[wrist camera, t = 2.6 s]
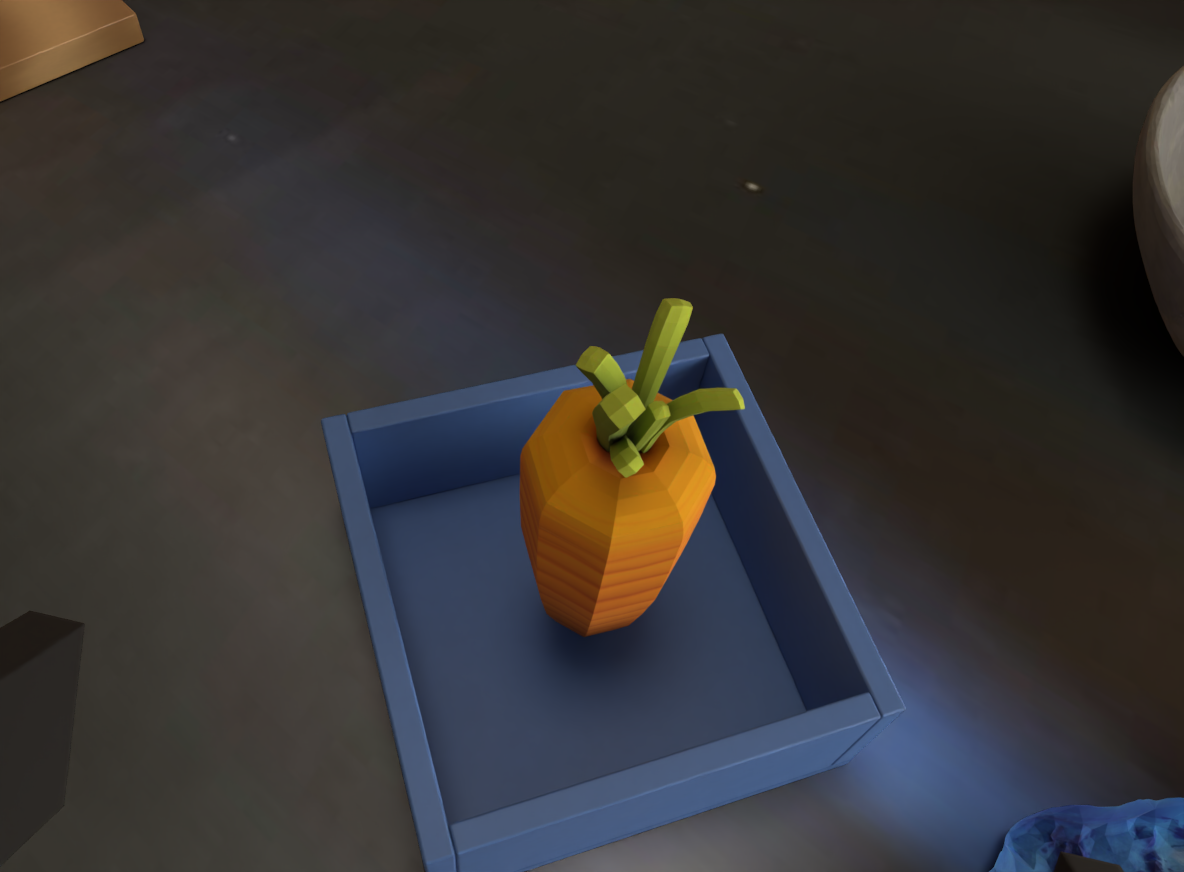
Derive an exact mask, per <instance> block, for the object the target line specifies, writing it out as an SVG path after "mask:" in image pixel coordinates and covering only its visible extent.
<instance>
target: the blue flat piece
mask: <svg viewBox="0 0 1184 872" xmlns="http://www.w3.org/2000/svg"><path fill="white" fill-rule="evenodd" d="M1061 851H1062V852H1066V853H1070V854H1074V855H1079V856H1083V857H1087V858H1092V859H1096V860H1100V861H1104V862H1109V863H1113V864H1117V865H1120V866H1121V868H1122V869H1123V871H1124V872H1184V798H1180V797H1179V798H1166V799H1162V800H1158V801H1155V800H1151V799H1145V800H1141V799H1139V800H1136V801H1134V802H1128V803H1126V804H1123V805H1121V806H1115V807H1096V806H1092V805H1067V806H1061V807H1051V808H1049V809H1046V810H1043V811H1040V812H1038V813H1034V814H1032V815H1029V816H1027V817H1025V818H1024V819H1022V820H1020V821H1019V822H1017V823H1016V824H1015V825H1014V826H1013V827H1012V828H1011V829H1010V830H1009V831H1008V833H1007V835H1006V838H1005V843H1004V846H1003V850H1002V851H1001V852H1000V854H999V856H998V859H997V861H996V864H995V866H994V868H993V869H992V870H991V871H990V872H1054V869H1055V866H1056V863H1057V860H1058V857H1059V854H1060V852H1061Z"/></svg>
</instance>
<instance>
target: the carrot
mask: <svg viewBox="0 0 1184 872" xmlns="http://www.w3.org/2000/svg"><path fill="white" fill-rule="evenodd" d="M692 309H693V307H692V305H691V304H690V302H687V301H684V300H681V299H676V298H669V299H663V300H662V302H661V304H660V306H659V308H658V310H657V312H656V315H655V318H654V320H653V323H652V326H651V329H650V331H649V334H648V338H647V341H646V344H645V347H644V350H643V354H642V357H641V360H640V363H639V367H638V370H637V373H636V376H635V380H632V379H626V378H625V376H624V374H623V372H622V371H621V369H620V367H619V365H618V364H617V362H616V361H615V360H614V359H613V358H612V356H611V355H610V354H609V353H608V352H606V351H605V350H603V349H601V348H600V347H594V346H590V347H589V348H588V349H587V350H586V351H585V352H584V353H583V354H582V355H581V357H580V358H579V360H578V362H577V364H576V367H577V368H578V369H579V370H580V371H581V372H582V373H583V374H584V375H585V376H586V377H587V378H588V379H589V380H590V381H591V382H592V383H593V386H587V387H582V388H576V389H571V390H565V391H563V392H562V394H561V395H560V397H559V398H558V399H557V401H556V402H555V404H554V405H553V406H552V408H551V409H550V411H549V412H548V413H547V415H546V416H545V418H544V419H543V420H542V422H541V423H540V425H539V426H538V427H537V429H536V430H535V432H534V433H533V434H532V436H531V437H530V439H529V440H528V441H527V443H526V444H525V446H524V447H523V449H522V452H521V456H520V515H521V528H522V532H523V536H524V540H525V544H526V547H527V551H528V555H529V558H530V562H531V566H532V569H533V573H534V576H535V580H536V583H537V587H538V591H539V594H540V598H541V601H542V603H543V606H544V608H545V611H546V614H547V615H549V616H550V617H551V618H552V619H554V620H555V621H556V622H558V623H559V624H561V625H563V626H565V627H566V628H568V629H570V630H572V631H574V632H575V633H577V634H579V635H581V636H582V637H587V636H591V635H595V634H599V633H604V632H608V631H612V630H616V629H619V628H622V627H626V626H629V625H630V624H631V623H633V622H634V621H635V620H636V619H637V618H638V617H639V616H641V615H642V614H643V613H644V612H645V610H646V609H647V608H648V607H649V606H650V605H651V604H652V603H653V602H654V600H655V599H656V597H657V596H658V594H659V592H660V590H661V589H662V587H663V585H664V583H665V582H666V580H667V578H668V576H669V575H670V573H671V571H672V569H673V567H674V566H675V564H676V562H677V560H678V559H679V557H680V555H681V553H682V552H683V550H684V548H685V546H686V544H687V542H688V540H689V538H690V536H691V534H692V532H693V530H694V528H695V527H696V525H697V523H698V521H699V519H700V516H701V514H702V512H703V510H704V508H705V505H706V503H707V501H708V499H709V496H710V494H711V492H712V490H713V487H714V485H715V480H716V473H715V468H714V465H713V463H712V460H711V458H710V455H709V453H708V450H707V448H706V445H705V443H704V440H703V438H702V435H701V433H700V430H699V428H698V425H697V423H696V420H695V418H694V415H697V414H701V413H705V412H709V411H728V410H741V409H745V405H744V400H743V398H742V396H741V394H740V393H739V391H738V390H737V388H706V389H698V390H695V391H692V392H690V393H687V394H685V395H682V396H680V397H678V398H676V399H674V400H671V399H669V398H667V397H665V396H663V395H661V394H659V393H658V390H659V388H660V386H661V384H662V382H663V379H664V377H665V375H666V373H667V370H668V368H669V366H670V364H671V361H672V359H673V357H674V355H675V353H676V350H677V348H678V346H679V343H680V341H681V339H682V336H683V334H684V332H685V329H686V327H687V324H688V322H689V318H690V315H691V312H692Z"/></svg>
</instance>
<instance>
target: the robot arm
mask: <svg viewBox="0 0 1184 872" xmlns="http://www.w3.org/2000/svg"><path fill="white" fill-rule="evenodd" d="M84 626H85V623H81V622H76V621H72V620H68V619H63V618H59V617H55V616H51V615H46V614H42V613H38V612H33V611H28V612H27V613H25V614H23V615H22V616H20V617H18V618H17V619H15V620H13V621H12V622H10V623H8V624H7V625H5V626H3V627H1V628H0V866H1V865H2V864H3V863H4V862H5V861H6V860H8V859H9V858H10V857H11V856H12V855H13V854H14V853H15V852H16V851H17V850H18V849H19V848H20V847H21V846H22V845H23V844H24V843H25V842H27V841H28V840H29V839H30V838H31V837H32V836H33V835H34V834H35V833H36V832H37V831H38V830H39V829H40V828H41V827H42V826H43V825H44V824H46V823H47V822H48V821H49V820H50V819H51V818H52V817H53V816H54V815H55V814H56V813H57V812H58V811H59V810H60V809H61V808H62V807H63V806H64V802H65V793H66V784H67V775H68V766H69V758H70V749H71V740H72V731H73V723H74V714H75V705H76V696H77V687H78V679H79V670H80V661H81V652H82V644H83V635H84ZM1054 872H1124V871H1123V869H1122V868H1121V866H1120V865H1117V864H1113V863H1109V862H1104V861H1100V860H1096V859H1092V858H1087V857H1083V856H1079V855H1074V854H1070V853H1066V852H1062V851H1061V852H1060V854H1059V857H1058V860H1057V863H1056V866H1055V869H1054Z"/></svg>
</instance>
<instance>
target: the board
mask: <svg viewBox="0 0 1184 872" xmlns="http://www.w3.org/2000/svg"><path fill="white" fill-rule="evenodd" d="M143 41H144V38H143V35H142V32H141V28H140V25H139V22H138V19H137V16H136V13H135V12H134V11H132V10H131V9H130V8H129V7H128V6H127V5H126V4H125V3H124V2H123V1H122V0H0V102H1V101H3V100H6V99H8V98H10V97H13V96H15V95H17V94H20V93H22V92H25V91H27V90H29V89H32V88H34V87H36V86H39V85H41V84H44V83H46V82H48V81H51V80H53V79H55V78H58V77H60V76H63V75H65V74H67V73H70V72H72V71H74V70H77V69H79V68H82V67H84V66H86V65H89V64H91V63H93V62H96V61H98V60H101V59H103V58H105V57H108V56H110V55H112V54H115V53H117V52H120V51H122V50H124V49H127V48H129V47H131V46H134V45H136V44H139V43H141V42H143Z"/></svg>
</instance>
